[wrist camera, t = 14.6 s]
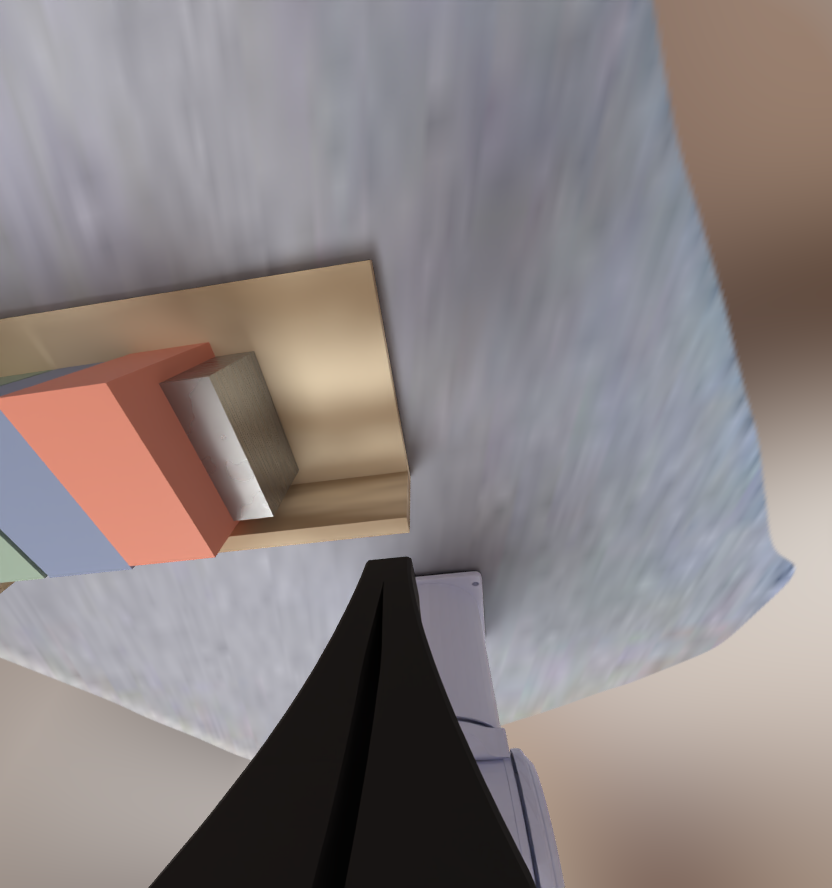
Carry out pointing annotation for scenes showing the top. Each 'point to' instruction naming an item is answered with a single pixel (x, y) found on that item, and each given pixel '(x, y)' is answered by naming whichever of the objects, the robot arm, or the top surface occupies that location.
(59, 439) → the orange rectangular block
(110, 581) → the top surface
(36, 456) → the book
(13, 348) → the shelf
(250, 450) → the bookend
